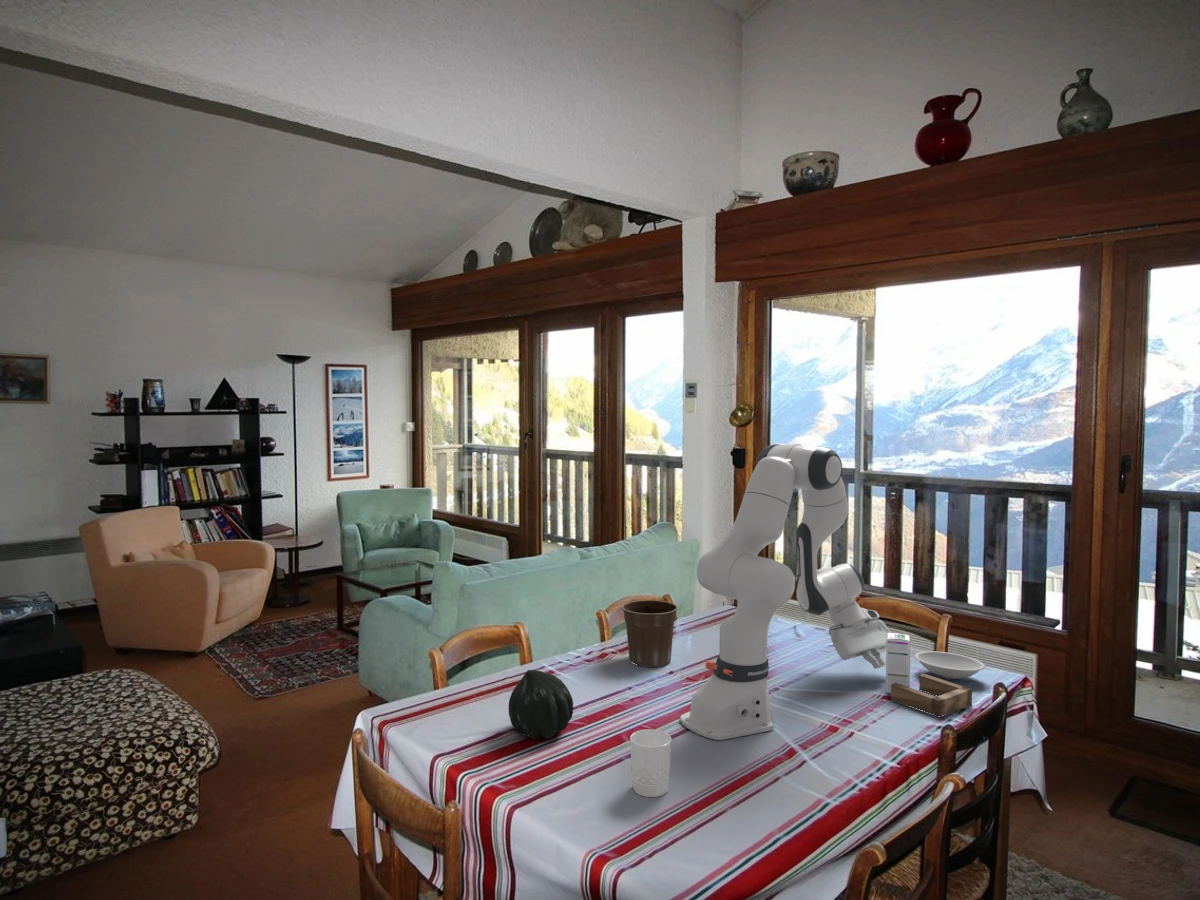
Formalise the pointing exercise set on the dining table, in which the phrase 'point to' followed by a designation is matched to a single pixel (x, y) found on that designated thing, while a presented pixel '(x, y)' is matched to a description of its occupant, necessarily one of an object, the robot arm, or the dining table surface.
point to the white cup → (650, 762)
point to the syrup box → (897, 660)
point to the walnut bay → (945, 702)
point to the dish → (949, 664)
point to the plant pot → (650, 631)
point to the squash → (540, 705)
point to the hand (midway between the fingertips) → (880, 666)
